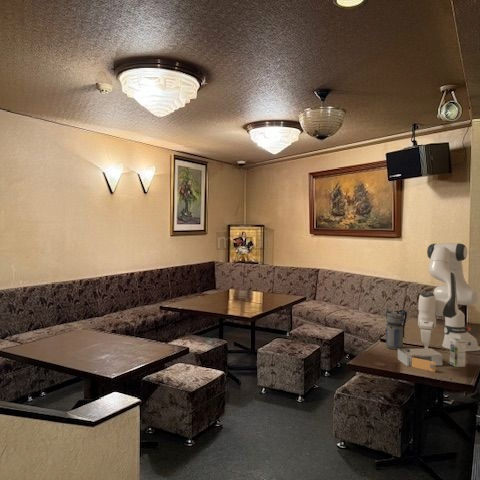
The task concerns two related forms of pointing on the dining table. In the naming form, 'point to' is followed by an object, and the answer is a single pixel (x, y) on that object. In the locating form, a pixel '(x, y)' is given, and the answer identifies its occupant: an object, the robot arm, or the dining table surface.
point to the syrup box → (457, 352)
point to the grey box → (419, 355)
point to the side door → (422, 364)
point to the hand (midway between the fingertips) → (426, 348)
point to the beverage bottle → (395, 329)
